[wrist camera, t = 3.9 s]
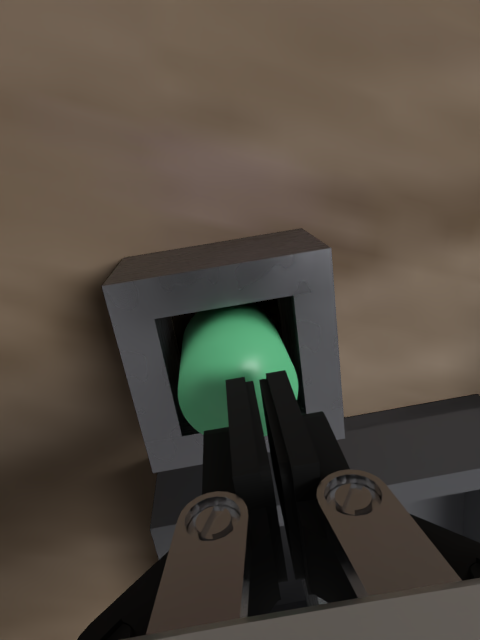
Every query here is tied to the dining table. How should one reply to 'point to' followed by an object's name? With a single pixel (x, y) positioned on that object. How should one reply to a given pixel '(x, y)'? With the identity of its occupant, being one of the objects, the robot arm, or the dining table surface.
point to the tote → (380, 460)
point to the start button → (227, 361)
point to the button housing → (217, 292)
